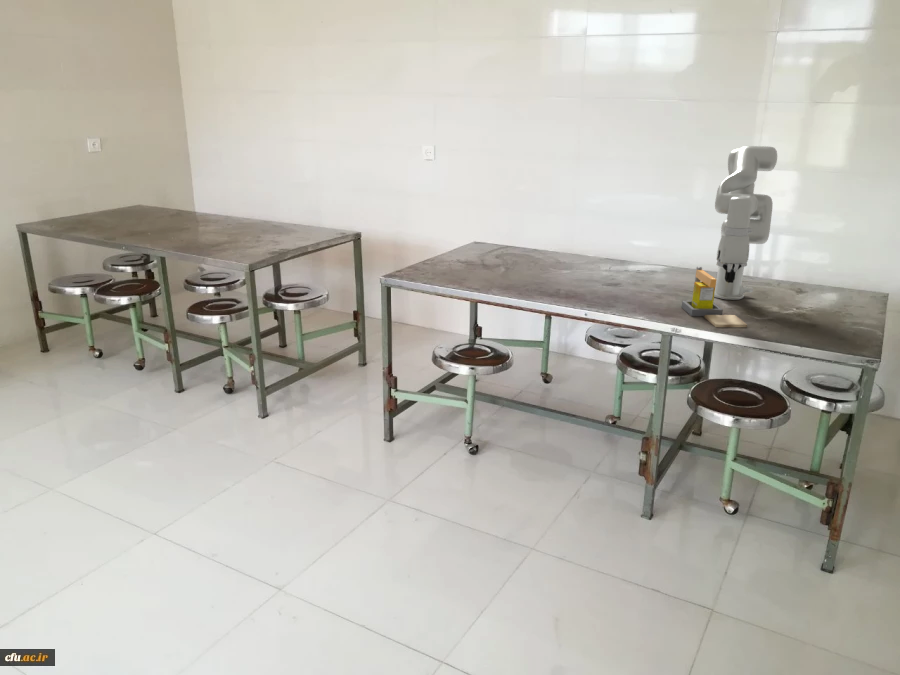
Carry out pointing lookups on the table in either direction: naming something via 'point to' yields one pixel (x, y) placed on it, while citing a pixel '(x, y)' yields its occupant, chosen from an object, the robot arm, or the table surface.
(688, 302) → the socket collar
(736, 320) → the oak board
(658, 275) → the table surface
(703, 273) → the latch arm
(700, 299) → the supplement box
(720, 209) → the robot arm
